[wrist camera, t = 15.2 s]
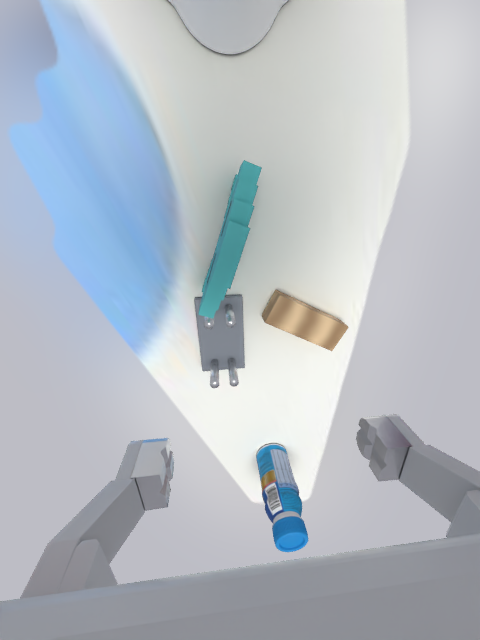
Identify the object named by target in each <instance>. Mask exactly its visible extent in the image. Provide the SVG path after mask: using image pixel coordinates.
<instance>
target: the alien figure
mask: <svg viewBox="0 0 480 640" xmlns="http://www.w3.org/2000/svg"><path fill="white" fill-rule="evenodd" d="M261 169H262V168H261V167H259V166H256V165H254V164H252V163H249V162H247V161H245V160H244V161H243V163H242V165H241V166H240V169H239V173H238V175H237V174H236V175H235V178H234V182H233V185H232V189H231V194H230V197H229V201H228V206H227V209H226V213H225V216H224V222H223V225H222V229H221V232H220V235H219V239H218V242H217V246H216V249H215V253H214V256H213V259H212V261H211V264H210V268H209V269H208V273H207V276H206V278H205V282H204V285H203V289H202V292H203V296H202V299H201V302H200V307H199V313H198V315H201V316H205V317H208V318H212V319H213V318H214V315H215V312H216V310H218V309H219V306H220V303H221V300H224V297H225V294H226V291H227V288H229V289H230V288H231V285H232V281H233V278H234V275H235V272H236V269H237V266H238V263H239V260H240V257H241V254H242V251H243V248H244V245H245V242H246V239H247V236H248V233H249V230H250V228H248V224H249V221H250V218H251V215H252V212H253V209H254V206H253V205H252V204H253V201H254V198H255V195H256V191H257V188H258V186H257V185H256V184H257V181H258V178H259V175H260V172H261Z"/></svg>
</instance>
